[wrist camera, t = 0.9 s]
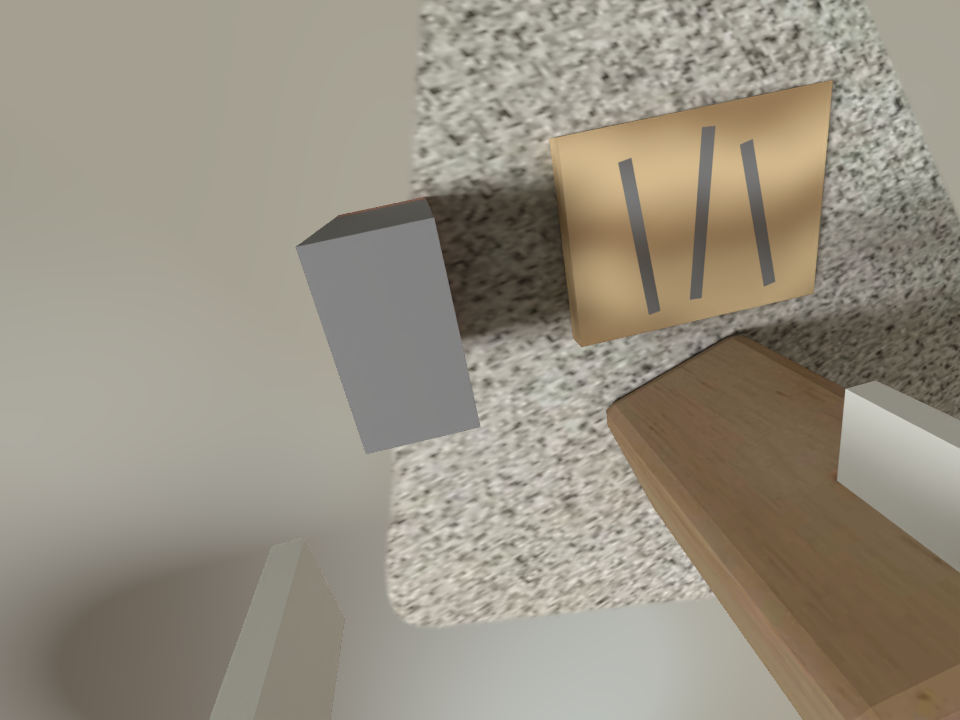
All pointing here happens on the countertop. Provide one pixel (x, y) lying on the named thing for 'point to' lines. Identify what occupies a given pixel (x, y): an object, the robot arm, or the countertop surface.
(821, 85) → the board
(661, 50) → the countertop surface
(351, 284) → the block
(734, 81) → the countertop surface
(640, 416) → the wooden block
